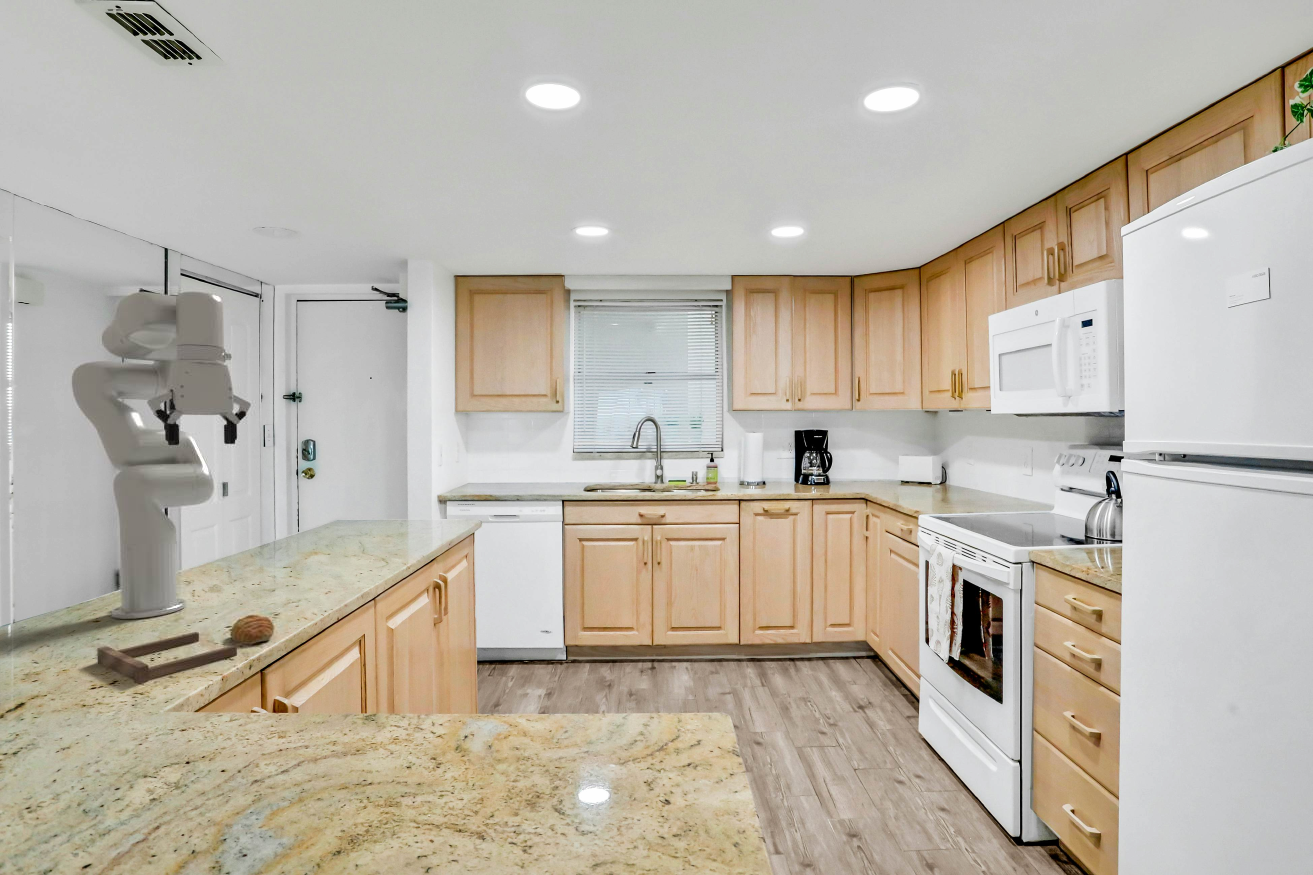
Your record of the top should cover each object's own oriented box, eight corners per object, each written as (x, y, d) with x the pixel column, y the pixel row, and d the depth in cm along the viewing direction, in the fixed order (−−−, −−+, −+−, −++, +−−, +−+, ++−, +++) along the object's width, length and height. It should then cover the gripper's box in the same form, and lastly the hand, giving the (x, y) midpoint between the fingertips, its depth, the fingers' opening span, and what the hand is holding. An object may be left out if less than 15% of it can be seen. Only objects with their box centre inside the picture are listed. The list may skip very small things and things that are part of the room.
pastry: (281, 640, 119) (281, 620, 119) (239, 650, 115) (239, 629, 115) (267, 629, 126) (267, 610, 126) (227, 638, 121) (226, 618, 121)
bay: (97, 662, 108) (97, 647, 108) (194, 639, 120) (193, 625, 120) (139, 683, 99) (139, 667, 99) (239, 655, 111) (238, 641, 111)
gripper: (239, 362, 135) (241, 443, 135) (139, 354, 120) (141, 445, 120) (257, 359, 131) (259, 443, 131) (155, 351, 116) (157, 445, 116)
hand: (202, 444), depth 125 cm, fingers open, 9 cm apart
